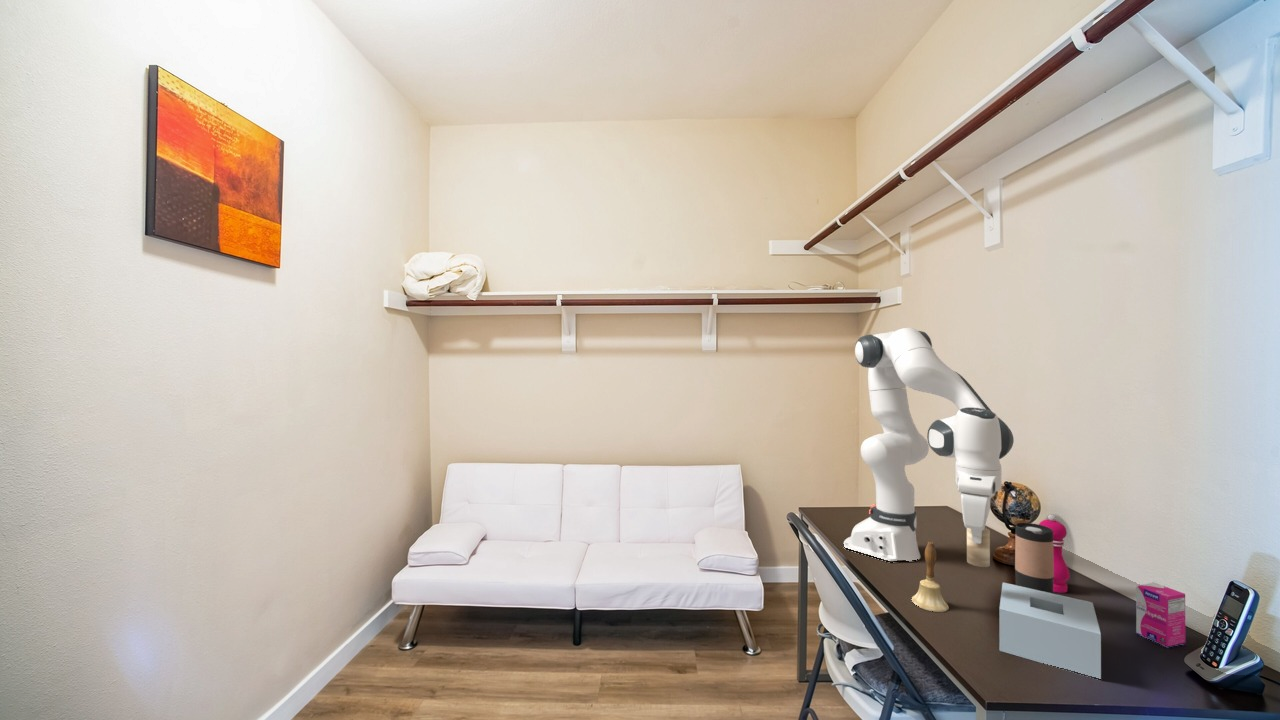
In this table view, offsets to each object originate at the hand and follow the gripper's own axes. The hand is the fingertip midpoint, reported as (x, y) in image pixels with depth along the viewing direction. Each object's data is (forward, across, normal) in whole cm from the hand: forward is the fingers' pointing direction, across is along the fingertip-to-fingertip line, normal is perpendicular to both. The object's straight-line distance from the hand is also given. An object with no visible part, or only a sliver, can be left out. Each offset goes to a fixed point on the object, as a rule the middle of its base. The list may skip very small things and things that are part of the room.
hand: (978, 538), depth 114 cm
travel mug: (+21, -22, +10) cm, 32 cm away
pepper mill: (+21, -38, +14) cm, 46 cm away
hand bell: (+21, -7, -11) cm, 25 cm away
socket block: (+21, -1, +12) cm, 24 cm away
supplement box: (+21, -20, +32) cm, 44 cm away
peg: (+6, 0, 0) cm, 6 cm away
